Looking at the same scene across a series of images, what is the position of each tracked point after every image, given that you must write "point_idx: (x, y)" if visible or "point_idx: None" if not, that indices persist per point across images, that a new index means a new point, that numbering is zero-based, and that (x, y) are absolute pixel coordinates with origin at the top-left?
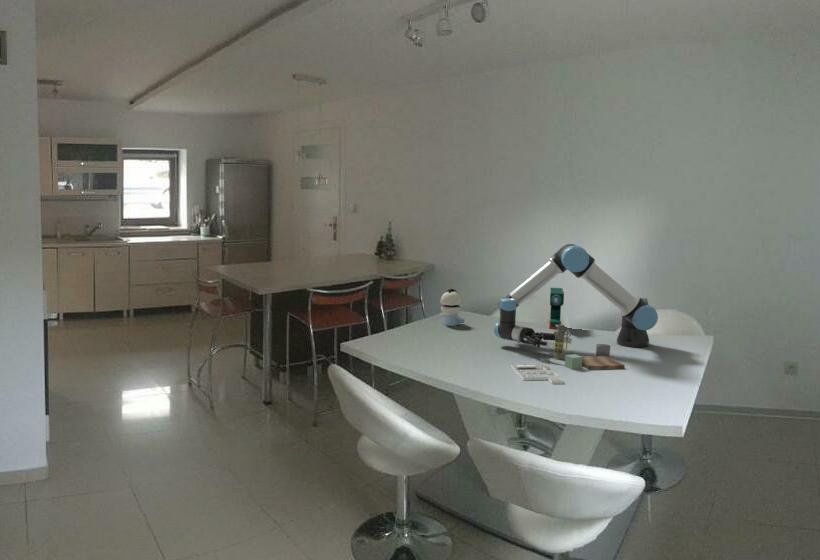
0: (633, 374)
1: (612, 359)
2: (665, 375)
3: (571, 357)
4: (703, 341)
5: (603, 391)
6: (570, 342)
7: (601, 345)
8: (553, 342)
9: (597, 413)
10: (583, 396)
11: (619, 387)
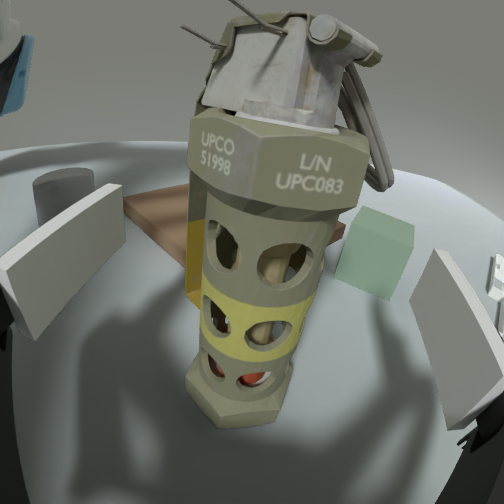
0: None
1: (178, 189)
2: None
3: (413, 228)
4: None
5: (443, 213)
6: (123, 232)
7: (66, 179)
8: (443, 254)
9: (496, 219)
10: (487, 230)
11: (399, 197)
